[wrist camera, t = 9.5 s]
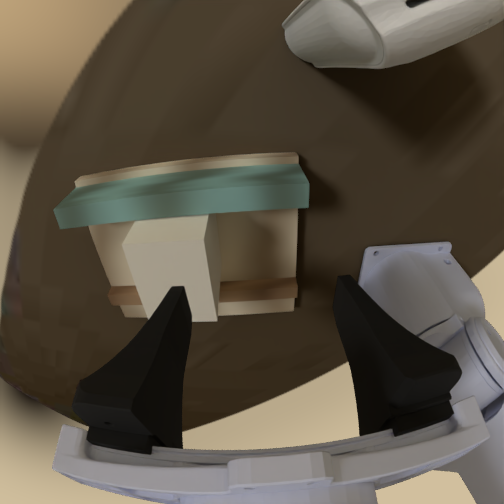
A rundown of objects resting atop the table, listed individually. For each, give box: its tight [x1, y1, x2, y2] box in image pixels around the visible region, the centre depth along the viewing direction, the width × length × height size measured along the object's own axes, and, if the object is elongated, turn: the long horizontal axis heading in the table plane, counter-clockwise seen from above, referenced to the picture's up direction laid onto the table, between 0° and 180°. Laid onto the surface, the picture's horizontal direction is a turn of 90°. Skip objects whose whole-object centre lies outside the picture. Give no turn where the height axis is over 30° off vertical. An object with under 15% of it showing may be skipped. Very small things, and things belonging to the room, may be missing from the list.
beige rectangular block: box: [122, 213, 222, 322], centre depth 19 cm, size 4×6×6 cm
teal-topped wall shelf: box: [53, 152, 309, 317], centre depth 21 cm, size 16×14×4 cm
